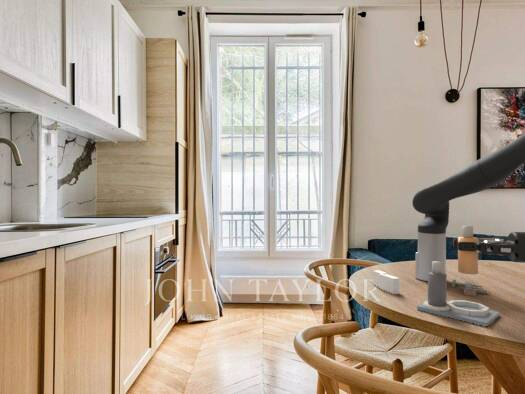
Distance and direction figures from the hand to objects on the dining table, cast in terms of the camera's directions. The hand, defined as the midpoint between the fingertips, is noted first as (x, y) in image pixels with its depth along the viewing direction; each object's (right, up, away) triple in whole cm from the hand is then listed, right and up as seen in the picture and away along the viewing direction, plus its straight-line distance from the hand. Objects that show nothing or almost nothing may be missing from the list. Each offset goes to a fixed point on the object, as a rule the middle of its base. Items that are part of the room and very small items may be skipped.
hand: (456, 244), depth 88 cm
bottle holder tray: (0, -18, 0) cm, 18 cm away
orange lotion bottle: (+3, -7, -1) cm, 8 cm away
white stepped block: (-10, -18, +23) cm, 31 cm away
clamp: (+17, -18, +23) cm, 34 cm away
